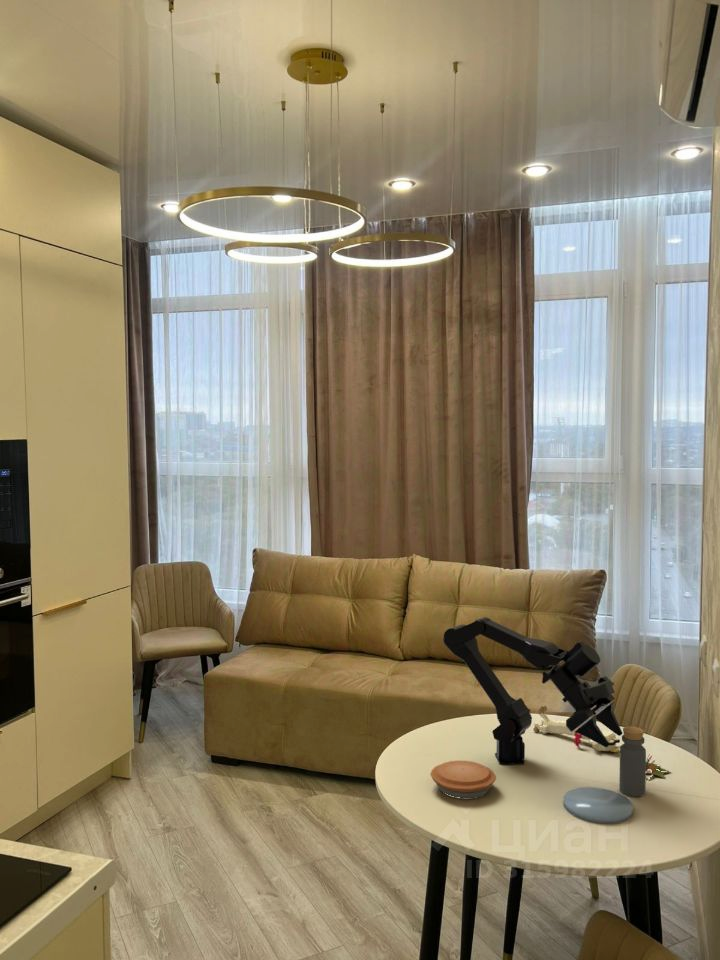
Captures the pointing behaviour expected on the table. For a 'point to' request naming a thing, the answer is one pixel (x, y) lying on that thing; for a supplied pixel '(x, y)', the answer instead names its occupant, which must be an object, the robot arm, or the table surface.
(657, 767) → the lily flower
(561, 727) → the cat figure
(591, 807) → the dish
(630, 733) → the bottle
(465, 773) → the pie
